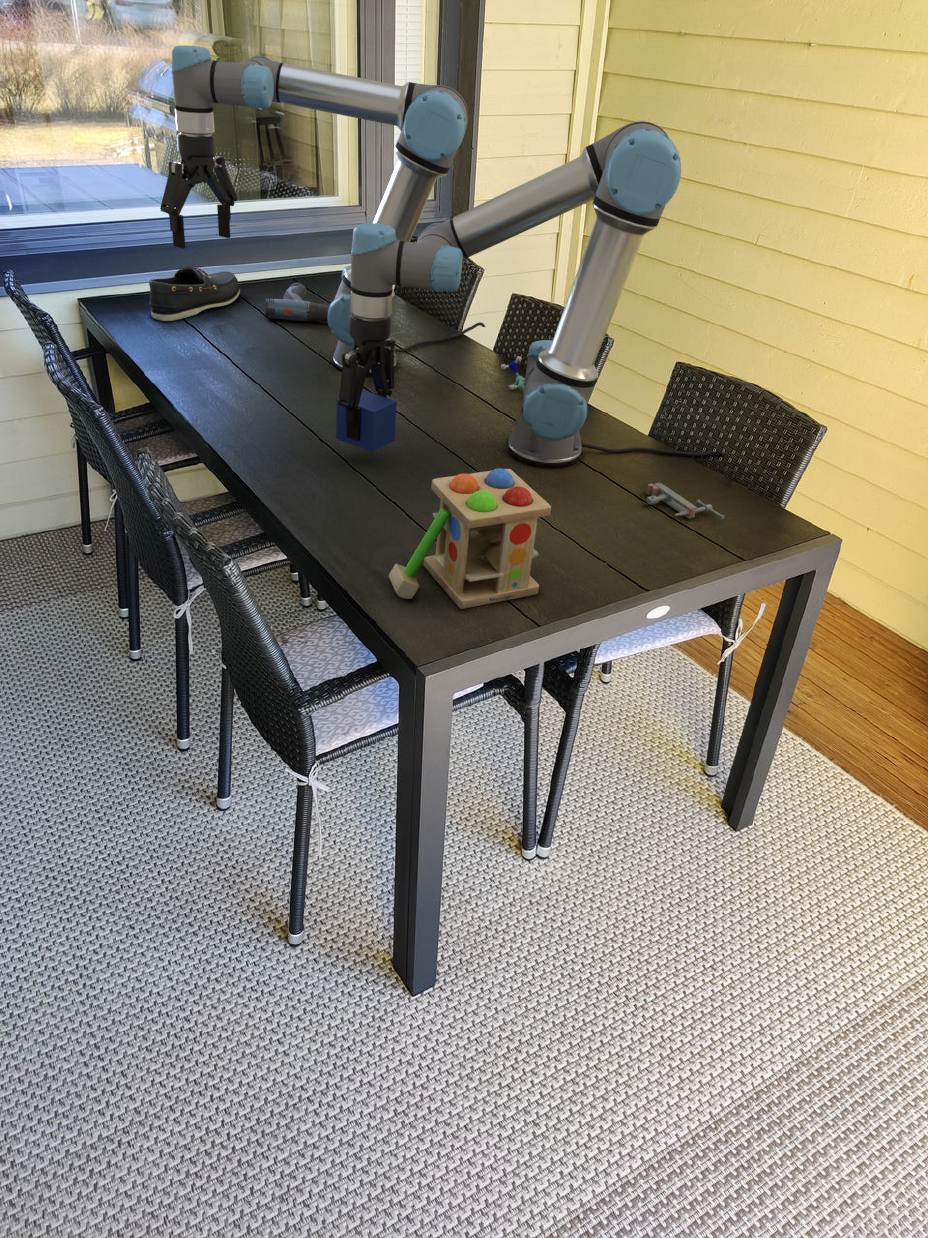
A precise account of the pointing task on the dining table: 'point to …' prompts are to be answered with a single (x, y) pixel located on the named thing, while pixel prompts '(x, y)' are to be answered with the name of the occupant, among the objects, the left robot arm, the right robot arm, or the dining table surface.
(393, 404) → the brick
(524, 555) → the pounding bench toy
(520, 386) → the molecular model
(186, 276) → the boat shoe
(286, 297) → the power drill
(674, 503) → the clamp
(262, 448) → the dining table surface
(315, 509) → the dining table surface
